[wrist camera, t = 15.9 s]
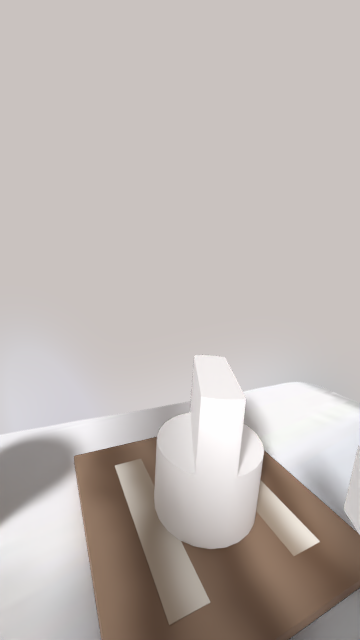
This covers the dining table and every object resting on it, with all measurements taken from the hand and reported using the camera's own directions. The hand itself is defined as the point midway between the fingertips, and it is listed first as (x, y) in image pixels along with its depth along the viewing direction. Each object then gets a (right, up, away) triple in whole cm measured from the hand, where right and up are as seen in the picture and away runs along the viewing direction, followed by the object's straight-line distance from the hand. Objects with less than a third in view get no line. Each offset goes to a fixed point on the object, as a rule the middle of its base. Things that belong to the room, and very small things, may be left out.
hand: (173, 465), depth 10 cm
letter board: (+2, -12, +15) cm, 19 cm away
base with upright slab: (+2, -11, +15) cm, 19 cm away
